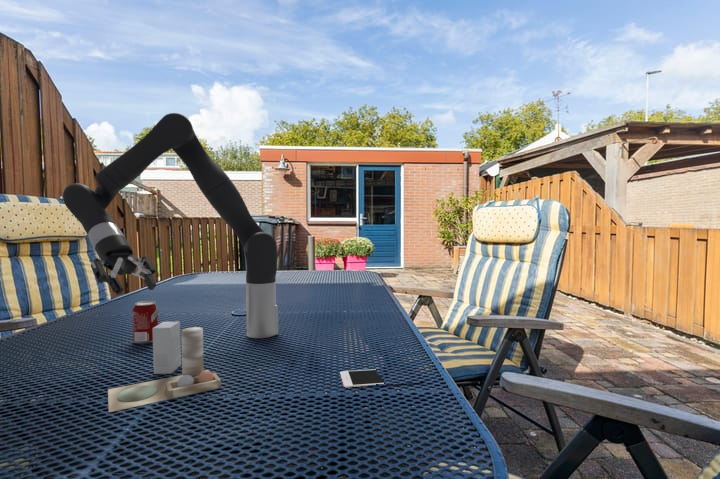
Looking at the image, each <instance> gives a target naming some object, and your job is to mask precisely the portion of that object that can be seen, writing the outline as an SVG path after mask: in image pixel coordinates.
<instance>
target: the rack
mask: <svg viewBox="0 0 720 479" xmlns="http://www.w3.org/2000/svg"><path fill="white" fill-rule="evenodd" d="M180 334H181V370H182V371H181V375H175V376H168V377H165V378H160V379H154V380H150V381H145V382H138V383H134V384H128V385H124V386H118V387H114V388H108V389H107V394H108V395H107V397H108V398H107V399H108V400H107V401H108V403H107V404H108V405H107V406H108V413H114V412H117V411H118V412H119V411H123V410H127V409H131V408H135V407H136V408H137V407H141V406H145V405H149V404H153V403H158V402H162V401H167V400H168V401H169V400H172V399H173V400H174V399H176V398H180V397H186V396H189V395H194V394H198V393H205V392H207V391H212V390H217V389H221V388H222V379H221V378H220V377H219V376H218V374H217V373H216V372H211V373H212V374H213V376H214V380H212V381H207V382H202V383H198V376H199V375H200V373H202V372H204V371H210V370H209V369H207V370H204V329H203V327H199V326H198V327H195V326H192V327H188V328H187V327H186V328H183V329H182V330H180ZM183 375H190V376H192V377H193V379H194V384H193V385H188V386H183V387H178V386H177V382H178V379H179V378H180V377H181V376H183Z"/></svg>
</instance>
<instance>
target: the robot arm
mask: <svg viewBox="0 0 720 479" xmlns="http://www.w3.org/2000/svg"><path fill="white" fill-rule="evenodd" d="M170 150H173V152H174V153H175V154H176V155H177V156H178V158H179V159H180V160H181V161H182V162H183V164H185V165H186V167H187V169H188V171H189V172H190V174H191V176H192V178H193V180H194V182H195V183H196V185H197V187H198V188H199V190H200V192H201V193H202V195H203V196H204V197H205V198H206V200H207V201H208V202H209V204H210V205H211V207H212V208H213V209H214V210H215V211H216V212H217V214H218V215H219V216H220V217H221V218H222V220H223V221H225V223H226V224H227V225H228V226H229V227H230V228H231V230H233V232H234V233H235V236H236V237H237V238H238V240H239V242H240V243H241V245H242V247H243V249H244V251H245V253H246V264H247V265H246V273H245V274H246V275H245V292H246V297H245V299H246V304H245V305H246V306H245V307H246V308H245V309H246V312H245V313H246V337H248V338H251V339H265V338H271V337H274V336H276V335H279V306H278V304H277V301H276V300H277V297H276V295H277V294H276V293H277V292H276V290H277V289H276V287H277V286H276V284H277V281H276V277H277V273H278V272H277V271H278V265H277V264H278V245H277V241H276V240H275V238H274V237H273V236H272V235H271V234H269V233H267V232H265V231H264V230H263V229H262V228H261V226H260V225H259V224H258V222H256V220H255V219H254V218H253V216H252V215H251V214H250V211H249V209H248V207H247V205H246V203H245V200H244V199H243V197H242V195H241V193H240V192H239V190H238V188H237V187H236V186H235V184H234V182H233V181H232V180H231V178H230V177H229V176H228V175H227V174H226V172H225V171H224V170H223V169H222V168H221V167H220V165H218V164H217V163H216V162H215V160H214V159H212V157H211V156H210V155H209V154H208V152H206V150H205V148H204V146H203V144H202V143H201V141H200V140H199V138H198V136H197V135H196V133H195V130H194V127H193V125H192V123H191V121H190V119H189V118H187V116H185V115H184V114H181V113H178V112H171V113H167V114H166V115H163V117H162V118H161V119H160V120H159V121H158V122H157V123H156V124H155V125H154V126H153V127H152V128H151V129H150V131H149V132H148V133H146V134H145V135H144V136H143V137H142V138H141V139H140V140H139V141H138V142H137V143H136V144H134V145H133V146H132V147H131V148H129V149H127V151H125V152H124V153H122V154H121V155H120V156H118V157H117V158H116V159H114V160H112V162H110V163H109V164H107V165H106V166H104V167H103V168H102V169H100V171H98V172H97V173H96V175H95V180H96V182H97V183H98V186H97V187H96V189H95V190H94V189H92V188H91V187H89V186H88V185H86V184H83V183H80V182H79V183H78V182H76V183H71V184H69V185H67V186H66V187H65V188H64V190H63V192H62V200H63V203H64V205H65V206H66V208H67V210H68V211H69V212H70V213H71V214H72V215H73V216H74V217H75V219H76V220H77V221H78V222H79V223H80V224H81V226H82V227H83V229H84V231H85V234H86V235H87V237H88V239H89V242H90V244H91V246H92V248H93V250H94V251H95V253H96V255H97V257H95V258H94V259H93V261H92V263H91V264H90V268H91V270H92V272H93V275H94V276H95V278H96V281H97V283H98V284H103V283H106V284H108V285H109V287H110V289H111V290H112V292H113V293H114V294H115V295H118V296H119V295H122V293H123V292H124V287H123V285H122V283H121V281H120V280H119V278H118V277H117V276H118V275H119V276H123V275H133V276H135V277H139V278H141V279H143V282H144V284H145V285H146V287H147V288H148V290H149V291H154V290H155V288H156V286H157V282H156V280H155V279H154V275H155V274H156V272H157V271H158V270H157V269H156V267H155V265H154V264H153V263H152V261H151V260H150V259H149V256H147V255H145V254H144V255H143V256H142V257H137V256H135V255H134V252H133V248H132V246H131V245H130V243H129V241H128V240H127V238H126V236H125V235H124V234H123V231H121V229H120V228H119V227H118V225H117V224H116V222H115V221H114V219H113V217H112V216H111V214H110V213H109V212H108V211H107V210H106V209H107V208H108V206H110V205H111V203H112V202H113V201H114V199H115V198H116V196H117V195H118V194H119V192H120V191H122V190H124V188H126V187H127V186H129V185H130V184H131V183H132V182H133V181H135V180H136V179H137V178H138V177H140V176H141V174H143V172H144V171H145V170H146V169H147V168H148V167H149V166H150V165H151V164H152V163H153V162H155V161H156V160H157V159H158V158H159V157H161V156H162V155H163V154H165V153H166V152H168V151H170ZM137 268H138V269H137ZM106 269H108V270H109V273H107V271H106ZM136 269H137V270H136Z"/></svg>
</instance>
